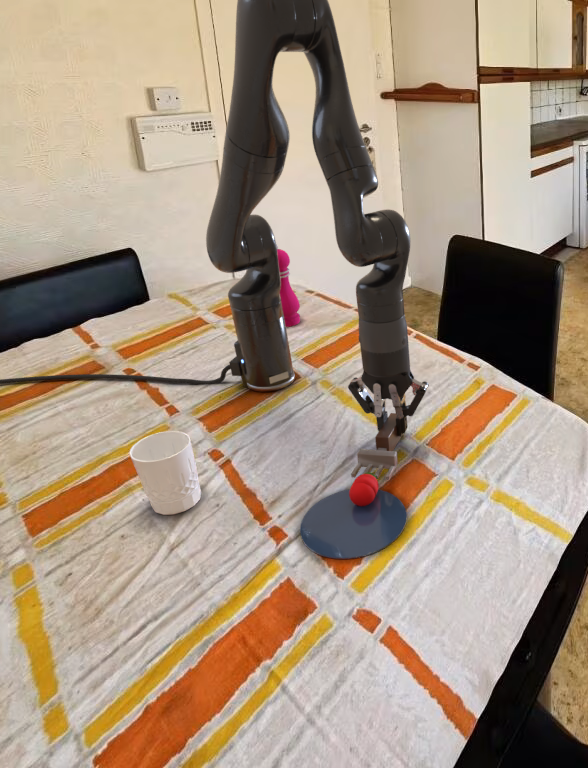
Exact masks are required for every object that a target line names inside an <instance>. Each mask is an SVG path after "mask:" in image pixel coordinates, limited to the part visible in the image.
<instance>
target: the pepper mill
mask: <svg viewBox="0 0 588 768" xmlns="http://www.w3.org/2000/svg"><path fill="white" fill-rule="evenodd" d="M276 246H277V253H278V263H279V271H280V279H281V288H280V297H281V303H282V309H283V314H284V320H285V325H286V328H289V327H293V326H296V325H298V324H299V323H300V322H301V318H300V314H299V312H298V311H299V310H300V308H301V304H300V300H299V298H298V296H297V295H296V293H295V292H294V289H293V288H292V285H291V283H290V278H289V276H290V275H291V273H290V268H288V267H289V266H290V264H291V259H290V256H289V254H288V253H287V251H285V250H283V249H280V248H279V245H278V243H276Z"/></svg>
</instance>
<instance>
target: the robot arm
mask: <svg viewBox="0 0 588 768" xmlns="http://www.w3.org/2000/svg"><path fill="white" fill-rule="evenodd" d="M331 8H332V7H331V6H330V3H329V0H237V2H236V11H235V12H236V13H235V14H236V15H235V38H234V39H235V40H234V44H235V45H234V63H233V65H234V66H233V67H234V68H233V69H234V70H233V78H232V86H231V87H232V89H231V96H230V103H229V104H230V105H229V111H228V117H227V121H226V129H225V135H224V142H223V149H222V159H221V168H220V174H219V179H218V185H217V191H216V195H215V198H214V202H213V206H212V209H211V212H210V215H209V220H208V224H207V228H206V234H205V235H206V236H205V245H206V252H207V255H208V258H209V260H210V262H211V264H212V265H213V266H214V268H215V269H217V270H218V271H220V272H221V273H226V274H235V273H239V272H243V271H245V273H244V275H242V277H241V278H240V280H238V281H237V282H236V283H234V285H232V286H231V287H230V289H228V292H227V297H228V302H229V307H230V312H231V316H232V321H233V325H234V329H235V334H236V339H237V340H236V341H235V342H234V343H233V348H234V351H235V357H234V358H232V359H231V360H230V361H229V362H228V365H226V366H224V368H223V369H222V370H221V372H220V376H219V377H218V378H216V379H211V380H199V379H193V378H192V379H191V378H175V377H174V378H173V377H162V376H152V375H151V376H150V375H137V374H136V375H135V374H134V375H133V374H106V373H103V374H102V373H99V374H98V373H93V374H91V373H89V374H88V373H87V374H86V373H85V374H83V373H82V374H59V375H58V374H57V375H56V374H55V375H39V376H26V377H25V376H24V377H14V378H1V379H0V385H4V384H16V383H27V382H41V381H43V382H45V381H57V380H59V381H61V380H93V379H95V380H103V379H104V380H128V381H129V380H130V381H131V380H132V381H146V382H147V381H148V382H160V383H169V384H170V383H171V384H187V385H188V384H190V385H196V386H197V385H198V386H199V385H201V386H202V385H203V386H204V385H217V384H220V383H221V382H223V381H224V380H225V379H226V376H227V372H229V371H230V372H231V376H233V377H240V379H241V383H242V386H243V387H245V388H248V389H249V390H251V391H254V392H260V393H261V392H262V393H263V392H265V393H267V392H274V391H275V392H276V391H279V390H282V389H285V388H286V387H288V386H290V385H291V384H293V383H294V381H295V379H296V375H295V371H294V365H293V360H292V355H291V349H290V343H289V337H288V332H287V327H286V325H285V320H284V314H283V309H282V303H281V297H280V288H281V279H280V271H279V263H278V253H277V246H276V244H277V242H276V237H275V234H274V232H273V229H272V227H271V224H269V222H268V221H267V220H266V218H265V217H263V216H262V215H259V214H252V213H253V211H254V210H255V209H256V208H257V207H258V205H259V204H260V203H261V202H262V201H263V199H265V197H266V196H267V195H268V194H269V193H270V191H271V190H272V189H273V188H274V187H275V186H276V184H277V182H278V181H279V179H280V178H281V176H282V174H283V172H284V168H285V165H286V159H287V156H288V150H289V146H290V139H291V134H290V129H289V124H288V122H287V119H286V116H285V114H284V112H283V110H282V108H281V106H280V104H279V101H278V99H277V96H276V95H275V92H274V87H273V82H274V81H273V79H274V70H275V64H276V60H277V57H278V55H279V54H280V53H303V54H304V56H305V58H306V60H307V62H308V64H309V66H310V69H311V72H312V76H313V79H314V86H315V87H314V88H315V97H314V108H313V114H312V124H311V139H312V145H313V150H314V153H315V156H316V159H317V162H318V164H319V167H320V169H321V172H322V174H323V178H324V180H325V182H326V185H327V187H328V190H329V194H330V200H331V208H332V215H333V222H334V223H333V225H334V233H335V240H336V244H337V247H338V249H339V252H340V254H341V255H342V256H343V258H344V259H345V260H346V261H347V262H348V263H350V264H351V265H353V266H355V267H357V268H364V267H368V266H371V265H373V266H372V268H371V270H370V271H369V272H368V273H367V274H365V275H364V276H362V277H361V278H360V279H359V280H358V281H357V282H356V285H355V296H356V297H355V298H356V307H357V315H358V342H359V347H360V354H361V364H362V365H361V366H362V369H363V371H362V374H361V376H360V377H357V376H355V377H353V378H352V380H350V382H349V384H348V385H347V388H348V390H349V392H350V393H351V394H352V396H353V397H354V399H355V400H356V402H357V404H358V405H359V407H361V409H362V411H363V412H364V413H365V414H373V415H374V416H375V418H376V426H377V431H378V432H379V431H380V429H381V427H382V426H383V424H384V423H385V422H386V420H387V418H388V417H389V415H388V411H387V410H386V408H387V399H388V400H391V402H392V403H391V404H392V407H393V408H394V411H395V412H394V413H396V425H397V435H398V436H401V438H402V437H403V435H404V434H405V435H406V432H407V429H408V427H409V425H408V417H413V416H414V414H415V413H416V411H417V409H418V407H419V406H420V404H421V402H422V400H423V398H424V396H425V395H426V392H427V390H428V388H429V382H427V381H424V380H423V381H422V382H421V381H419V380H417V379H415V376H414V373H412V371H411V361H410V347H409V346H410V345H409V332H408V324H407V319H406V316H405V315H406V314H405V313H406V312H405V301H404V293H403V289H404V283H405V278H406V273H407V270H408V269H407V268H408V262H409V258H410V252H411V234H410V229H409V226H408V224H407V222H406V220H405V218H404V217H403V216H402V214H400V213H399V212H397V211H396V210H394V209H389V208H387V209H381V210H376V211H373V212H367V213H364V208H363V204H364V203H363V201H364V198H366V197H368V196H370V195H372V194H373V193H374V192H375V191H376V190H377V189H378V187H379V180H378V175H377V172H376V169H375V167H374V165H373V162H372V159H371V157H370V154H369V151H368V148H367V146H366V143H365V140H364V138H363V135H362V132H361V129H360V127H359V123H358V119H357V116H356V112H355V109H354V106H353V105H354V104H353V100H352V96H351V92H350V87H349V83H348V77H347V72H346V67H345V64H344V58H343V55H342V50H341V45H340V42H339V36H338V33H337V27H336V23H335V19H334V15H333V12H332V9H331ZM366 387H367V389H368V390H369V391H370V392H371V393H369V391H368V390H367V389H366ZM410 387H411V388H412V394H413V399H412V401H411V402H410V404H407V401H406V398H407V395H406V393H407V392H408V390H409V389H410ZM371 394H372V395H373V397H372V396H371Z"/></svg>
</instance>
